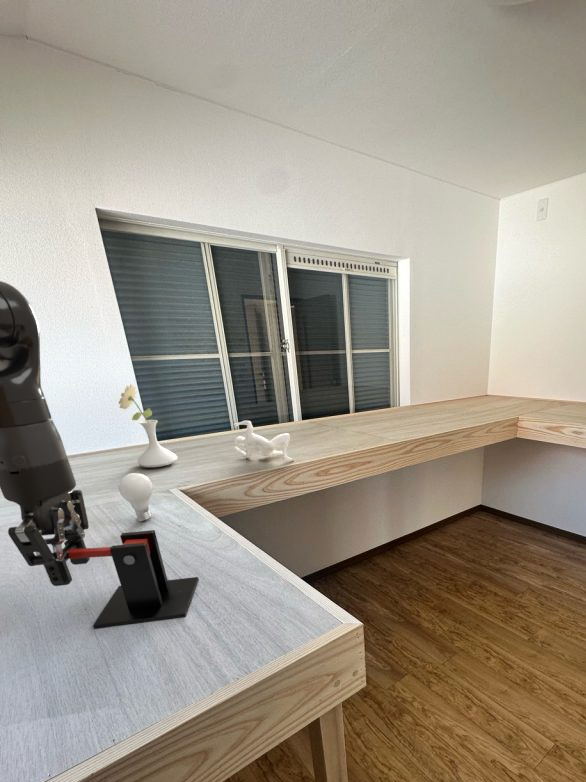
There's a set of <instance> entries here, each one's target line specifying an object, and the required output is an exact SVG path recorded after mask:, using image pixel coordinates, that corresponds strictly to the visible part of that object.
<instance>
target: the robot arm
mask: <svg viewBox="0 0 586 782" xmlns="http://www.w3.org/2000/svg"><path fill="white" fill-rule="evenodd" d="M40 335H41V334H40V325H39V321H38V317H37V315H36V312H35V309H34V308H33V306H32V304H31V303H30V302H29V301H28V299H27V298H26V297H25V296H24V294H23V293H22V292H21V291H20V290H19V289H18V288H16V287H15V286H13V284H12V285H11V284H9V283H8V282H6V281H2V280H0V491H1V494H2V496H3V498H4V499H5V500H6V501H9V502H12V503H15V504H17V505H18V506H19V508H20V518H21V520H22V521H21V522H20V524H19V525H18V526H12V527H9V528H8V530H7V533H8V536H9V537H10V539H11V541H12V542H13V544H14V545H15V547H16V548H17V550H18V552H19V553H20V554H21V556H22V557H23V559H24V561H25V562H26V563H27V565H28V566H29V567H35V566H43V567H44V569H45V572H46V574H47V577H48V578H49V583H51V585H52V586H54V587H60V586H68V585H70V584H71V582H73V577H72V574H71V572H70V569H69V566H68V564H67V561H65V558H63V552H62V549H63V546H62V544H64V547H65V546H66V545H67V544H68V543H69V542H76V543H77V544H78V545H79V549H84V548H87V546H86V543H85V541H84V539H85V536H86V533H85V530H89V528H90V525H89V520H88V515H87V509H86V505H85V499H84V495H83V491H82V490H81V489H75V488H76V486H77V482H76V478H75V475H74V473H73V470H72V467H71V463H70V461H69V458H68V454H67V451H66V448H65V445H64V443H63V440H62V437H61V434H60V433H59V431H58V428H57V426H56V424H55V422H54V420H53V418H52V414H51V412H50V409H49V406H48V402H47V398H46V397H45V394H44V391H43V388H42V383H41V382H42V381H41V338H40V337H41V336H40ZM53 535H54V536H53ZM44 536H53V537H49V538H48V537H47V538H44ZM49 545H51V547H52V550H51V549H50V546H49ZM90 560H91V557H90V558H74V559H69V561H70V563H71V564H72V565H75V566H76V565H77V566H78V565H86V564H88V562H89V561H90Z"/></svg>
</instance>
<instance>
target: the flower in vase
mask: <svg viewBox="0 0 586 782" xmlns="http://www.w3.org/2000/svg"><path fill="white" fill-rule="evenodd" d="M136 394H137V388H136V386H134V385H133V384H132V383H131V384H129V385H126V387H125V388H124V392H122V393H120V396H121V397H120V399H119V401H118V405H119V408H120V409H123V410H127V409H128V408H129V407H130V406H131V405H132V404H133V403H134V404H135V406H136V407H137V409H138V411H137V412H135V413H134V414H133V415H132V418H131V420H132V421H138V420H140V418H141V416H143V419H144V420H141V421H139V422H138V423H139V424H140V425H141V426H142V427H143V429H144V430H145V433H146V435H147V439H148V447H147V448H146V449H145V450H144V451H143V452H142V453H141V455H139V456H138V459H137V460H136V463H137V465H139V466H140V467H144V468H160V467H165V466H169V465H171V464H173V463H175V462H176V461H178V456H177V455H176V453H174V452H172V451H171V450H169V449H167V448H165V447H163V446H162V445H160V443H159V442H158V439H157V435H156V434H157V433H156V427H157V423H158V420H157V419H147V418H149V417H152V415H153V412H152V410H151V408H150V407H148V408H146V409H145V410H144V411H142V410H141V408H140V406H139V405H138V403H137V402H136V401H135V398H136Z"/></svg>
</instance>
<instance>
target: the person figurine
mask: <svg viewBox="0 0 586 782" xmlns="http://www.w3.org/2000/svg"><path fill="white" fill-rule="evenodd" d="M240 425H241V426H242V425H244V426H246V430H245V436H236V437H235V438H234V443H235V444H236V445H238V446H243V447H244V448H245V451H244V450H241V449H240V448H239V447H238V446H233V450H234V451H235V452H238V454H240V455H241V456H242V457H243V458H244V459H246V458H247V459H249V458H252V457H253V456H254V454H255V453H257V452H258V453H259V455H261V456H263V457H271V456H276V455H281V459H282V460H287V461H292V460H291V459H292V458H291V457H289V456H288V454H287V449H288V446H289V444H290V439H291V434H290V433H281V434H277V435H276V436H275V437H273V438H272V439H270V440H268V439H267V438H265V437H263V436H261V435H258V434H256V433H254V426H253V424H252V421H251V420H247V419H246V420H242V421H239V422H233V426H234V427H237V426H240ZM280 447H281V450H276V449H278V448H280Z"/></svg>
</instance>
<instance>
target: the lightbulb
mask: <svg viewBox="0 0 586 782" xmlns="http://www.w3.org/2000/svg"><path fill="white" fill-rule="evenodd" d="M153 491H154V486H153V482H152V481H151V479H150V478H149V477H148V476H147V475H145V474H143V473H139V472H132V473H128V474H126V475H124V476H122V478H121V479H120V480H119V482H118V492H119V493H120V495H121V497H122V498H123V499H124V500H126V501H127V502H128V503H129V504H130V505H131V507H132V508H133V510H134V512H135V515H136V518H137V520H138V521H141V522H147V521H148V520H149V519H151V517H152V514H151V512H150V508H149V506H150V499H151V496H152V494H153Z"/></svg>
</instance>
